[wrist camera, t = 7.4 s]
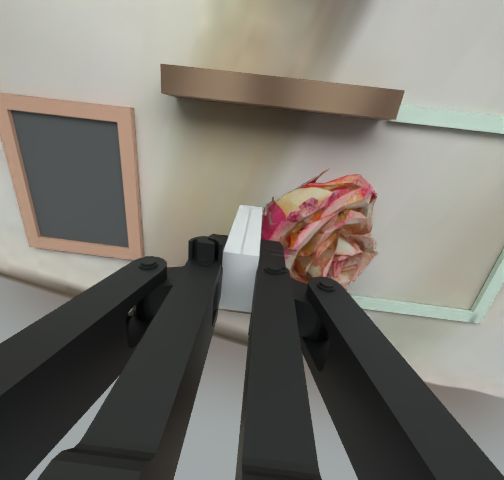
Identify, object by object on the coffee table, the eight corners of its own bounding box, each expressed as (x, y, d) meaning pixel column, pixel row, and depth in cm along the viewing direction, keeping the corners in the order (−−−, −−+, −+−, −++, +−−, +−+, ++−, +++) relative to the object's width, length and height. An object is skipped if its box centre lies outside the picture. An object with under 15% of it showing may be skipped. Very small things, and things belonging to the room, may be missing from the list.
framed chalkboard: (133, 108, 19) (129, 107, 18) (143, 258, 24) (141, 261, 23) (-5, 92, 19) (-12, 91, 19) (34, 244, 24) (29, 246, 23)
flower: (212, 261, 21) (271, 347, 16) (228, 141, 15) (325, 212, 10) (304, 238, 26) (371, 298, 21) (341, 142, 20) (442, 190, 15)
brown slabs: (387, 94, 17) (404, 90, 15) (329, 306, 24) (335, 325, 22) (175, 71, 18) (160, 63, 15) (177, 286, 25) (167, 303, 22)
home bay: (587, 126, 17) (593, 126, 17) (476, 320, 24) (480, 323, 23) (392, 104, 18) (395, 103, 17) (336, 302, 24) (337, 305, 24)
